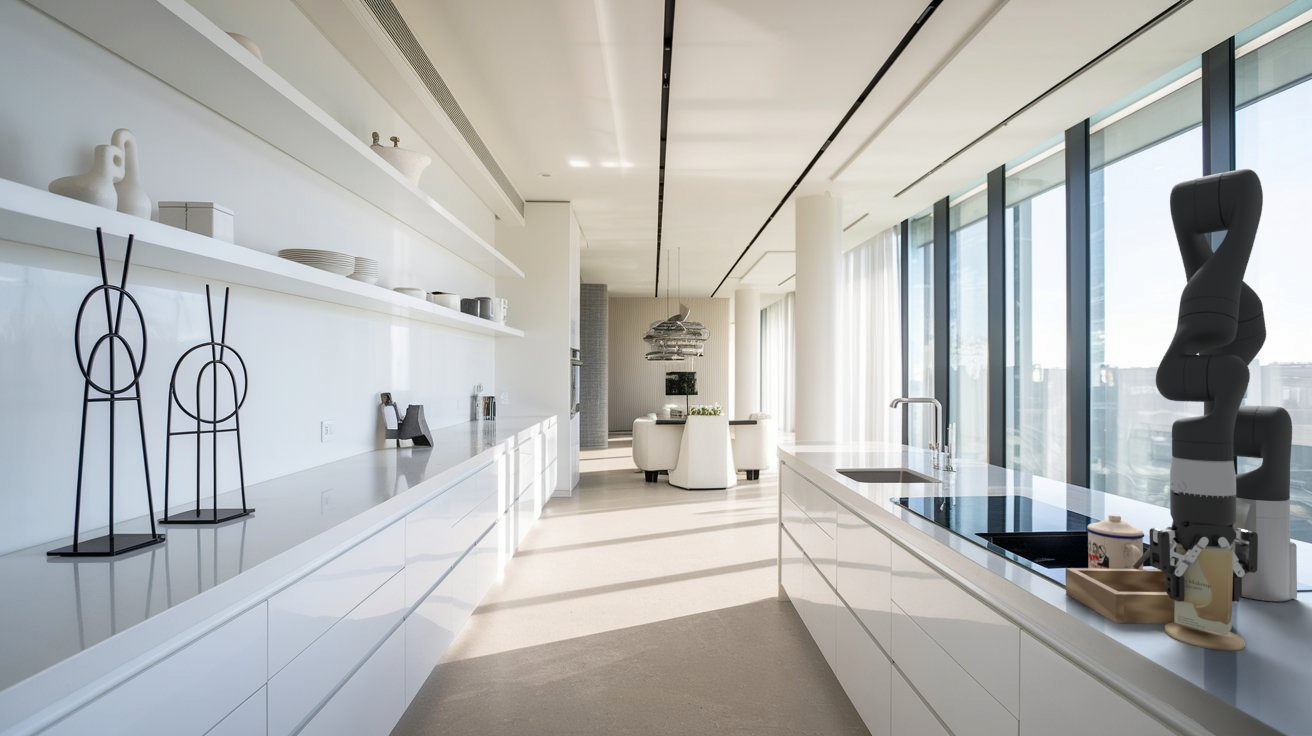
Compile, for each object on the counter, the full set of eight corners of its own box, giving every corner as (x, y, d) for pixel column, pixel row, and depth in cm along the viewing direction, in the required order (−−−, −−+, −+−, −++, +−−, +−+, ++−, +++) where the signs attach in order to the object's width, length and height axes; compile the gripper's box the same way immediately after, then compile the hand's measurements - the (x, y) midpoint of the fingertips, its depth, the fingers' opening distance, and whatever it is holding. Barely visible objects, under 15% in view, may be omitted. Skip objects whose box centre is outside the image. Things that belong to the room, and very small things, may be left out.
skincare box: (1173, 624, 97) (1172, 542, 97) (1179, 616, 100) (1178, 537, 100) (1230, 636, 92) (1229, 551, 92) (1234, 628, 95) (1234, 545, 95)
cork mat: (1210, 626, 101) (1210, 622, 101) (1262, 651, 92) (1261, 646, 92) (1150, 625, 101) (1150, 621, 101) (1195, 650, 92) (1195, 645, 92)
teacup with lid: (1077, 567, 130) (1077, 509, 130) (1126, 569, 129) (1125, 510, 129) (1112, 587, 118) (1111, 523, 119) (1166, 589, 117) (1165, 524, 117)
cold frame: (1182, 593, 115) (1181, 486, 115) (1252, 624, 101) (1251, 503, 101) (1063, 591, 116) (1062, 486, 116) (1115, 622, 102) (1114, 502, 102)
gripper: (1231, 484, 100) (1232, 591, 100) (1135, 484, 100) (1135, 590, 100) (1275, 493, 92) (1276, 609, 92) (1171, 493, 93) (1172, 608, 93)
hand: (1203, 599), depth 96 cm, fingers closed on skincare box, 7 cm apart
